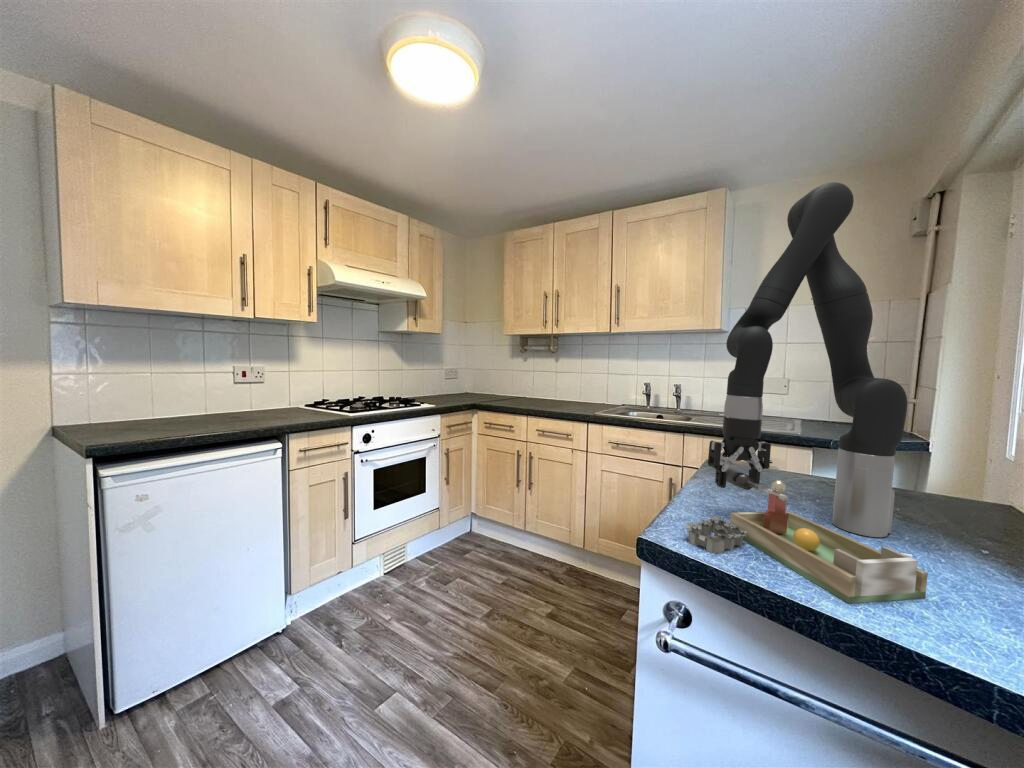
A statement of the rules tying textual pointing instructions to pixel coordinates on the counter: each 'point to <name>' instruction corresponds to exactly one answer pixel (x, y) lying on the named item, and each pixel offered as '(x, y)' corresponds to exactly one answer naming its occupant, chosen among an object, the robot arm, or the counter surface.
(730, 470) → the foosball player rod
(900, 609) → the counter surface
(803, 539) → the ball
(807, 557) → the wooden tray
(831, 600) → the counter surface
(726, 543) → the egg carton
